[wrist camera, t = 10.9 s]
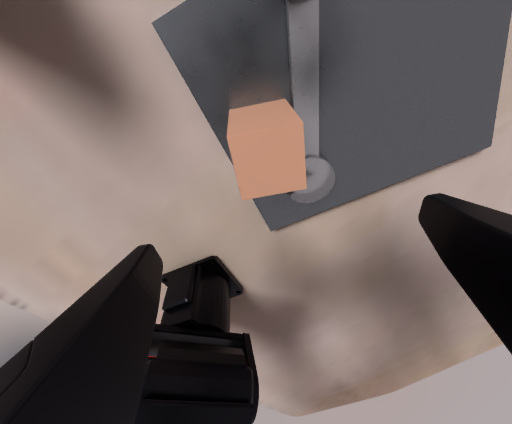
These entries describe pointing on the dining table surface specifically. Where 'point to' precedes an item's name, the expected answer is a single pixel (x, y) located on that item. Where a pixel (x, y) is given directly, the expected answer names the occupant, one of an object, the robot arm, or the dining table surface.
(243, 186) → the block
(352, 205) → the dining table surface
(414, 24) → the base plate
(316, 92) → the crank
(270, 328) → the dining table surface
